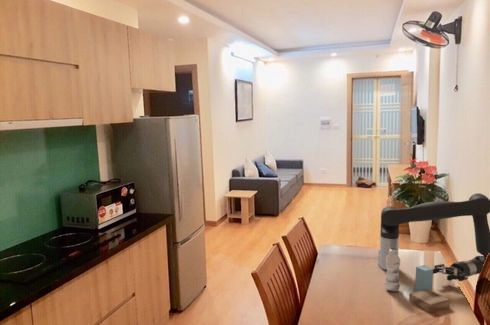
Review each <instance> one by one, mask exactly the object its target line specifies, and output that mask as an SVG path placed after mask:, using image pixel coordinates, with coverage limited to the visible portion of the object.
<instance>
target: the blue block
mask: <svg viewBox="0 0 490 325" xmlns="http://www.w3.org/2000/svg"><path fill="white" fill-rule="evenodd" d="M433 269H434V268H432V267H429V266H427V265H424V264H423V265H418V266H416V267H415V281H414V282H415V288H414V292H418V291H422V290H426V289H428V290H430V291H433V278H434V274H433Z"/></svg>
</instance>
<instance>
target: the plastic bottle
mask: <svg viewBox="0 0 490 325" xmlns="http://www.w3.org/2000/svg"><path fill="white" fill-rule="evenodd" d="M397 254H398V255H397ZM386 266H387V270H386V278H385V281H384V286H385V289H386V290H387V291H389V292H393V293H395V292H399V290H400V287H401V284H400V266H401V258H400V257H399V248H398V249H397V248H389V254H388V256H387V257H386Z"/></svg>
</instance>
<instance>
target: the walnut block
mask: <svg viewBox="0 0 490 325" xmlns="http://www.w3.org/2000/svg"><path fill="white" fill-rule="evenodd" d="M408 302H409V303H411V304H412V305H415V306H416V307H419V308H421V309H422V310H424V311H426V312H428V313H429V314H432V313H436V312H439V311H443V310H445V309H449V308H450V298H447V297H445V296H443V295H441V294H439V293H437V292H435V291H433V290H432V291H430V290H428V289H426V290H422V291H418V292H415V291H414V292H411V293H409V298H408Z"/></svg>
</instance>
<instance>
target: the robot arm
mask: <svg viewBox="0 0 490 325" xmlns="http://www.w3.org/2000/svg"><path fill="white" fill-rule="evenodd" d="M380 213H381V214H380V237H379V238H380V239H379V240H380V241H379V242H380V243H379V247H380V248H378V260H377V261H378V263H377V265H378V267H379V268H380V269H382V270H385V271H387V266H386V257H387V256H388V254H389V248H397V249H398V250H399V246H400V245H399V244H400V243H399V242H400V241H399V240H400V239H399V238H400V225H403V224H406V223H414V222H415V223H416V222H427V221H436V220H438V221H439V220H444V219H451V218H457V217H458V218H459V217H471V216H472V222H473V228H474V229H473V230H474V237H475V247H476V252H477V253H479V254H480V255H476V256H475V257H474V258H472V259H469V260H461V261H457V262H453V263H452V264H451V265H448V266H445V264H443V263H440V264H436V265H433V266H434V267H433V268H432V269H433V275H435V274H439V273H440V274H442V275H447V277H446V281H453V280H454V281H458V282H463V281H466V280H468V279H469V277H472V276H475V275H478V274H481V273H482V272H483V271H482V268H483V264H484V262H485V260H486V257H487V255H488V253H490V225H489V222H488V220H489V219H488V214H490V199H489V198H488V196H486V195H485V194H484V193H483V194H482V193H474V194H472V195H471V196H470V197H469V198H468V199H467V200H464V201H449V200H448V201H446V200H435V201H429V202H427V201H426V202H423V203H420V204H416V205H415V206H410V207H406V208H396V207H394V206H393V205H392V206H391V205H389V206H385V207H383V209H382V210H381V212H380ZM397 255H398V256H399V253H398V254H397ZM481 271H482V272H481Z"/></svg>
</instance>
